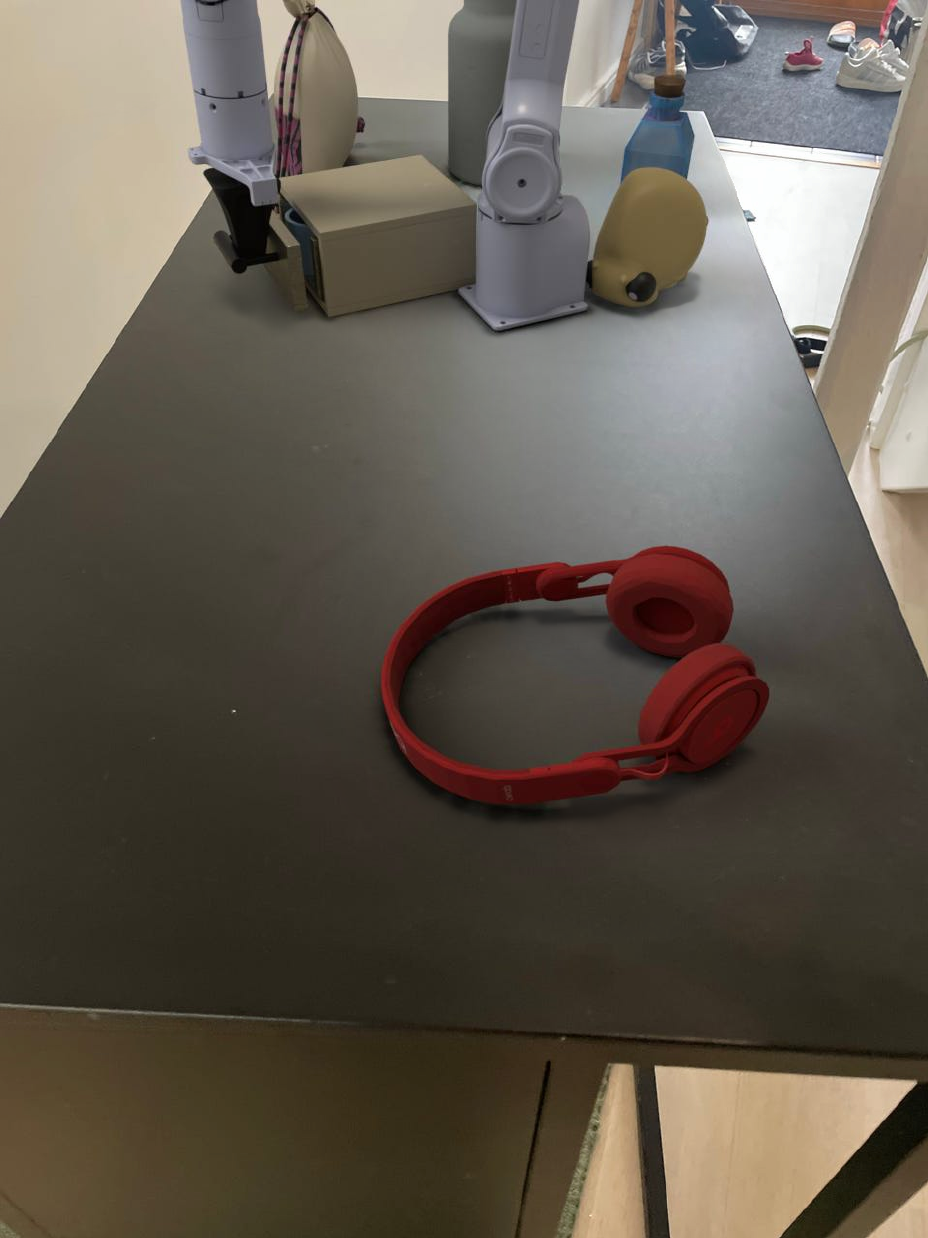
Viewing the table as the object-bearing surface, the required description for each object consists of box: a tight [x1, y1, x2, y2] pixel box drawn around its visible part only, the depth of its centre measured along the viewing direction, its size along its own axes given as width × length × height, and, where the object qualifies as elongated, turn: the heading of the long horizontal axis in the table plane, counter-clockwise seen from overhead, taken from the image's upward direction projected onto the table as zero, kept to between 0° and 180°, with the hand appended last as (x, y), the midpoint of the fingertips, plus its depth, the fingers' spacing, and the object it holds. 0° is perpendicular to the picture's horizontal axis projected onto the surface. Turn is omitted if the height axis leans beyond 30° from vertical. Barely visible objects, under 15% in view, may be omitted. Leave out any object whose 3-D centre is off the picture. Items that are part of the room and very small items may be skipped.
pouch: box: [273, 0, 366, 215], centre depth 95 cm, size 25×8×19 cm, turn 171°
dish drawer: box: [213, 196, 324, 312], centre depth 83 cm, size 18×11×6 cm, turn 115°
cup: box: [285, 208, 316, 276], centre depth 82 cm, size 5×5×4 cm
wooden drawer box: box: [278, 154, 478, 318], centre depth 85 cm, size 15×13×8 cm
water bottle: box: [447, 0, 517, 187], centre depth 95 cm, size 10×10×28 cm
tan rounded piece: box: [585, 167, 710, 308], centre depth 82 cm, size 10×12×11 cm
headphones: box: [380, 545, 770, 805], centre depth 50 cm, size 15×7×20 cm
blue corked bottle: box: [619, 74, 696, 185], centre depth 95 cm, size 6×6×12 cm
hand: (251, 256), depth 81 cm, fingers closed, pressing on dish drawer
